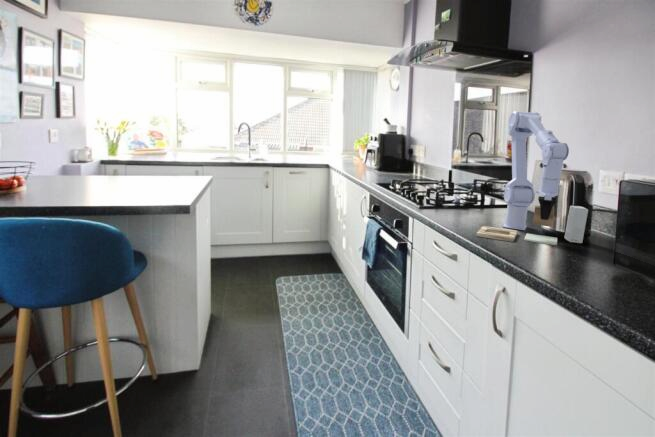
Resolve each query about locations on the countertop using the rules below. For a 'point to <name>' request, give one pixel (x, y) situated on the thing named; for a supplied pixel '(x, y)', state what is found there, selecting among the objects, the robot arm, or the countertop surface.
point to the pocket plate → (486, 232)
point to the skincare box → (576, 224)
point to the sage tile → (541, 239)
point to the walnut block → (539, 221)
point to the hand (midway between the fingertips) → (544, 218)
